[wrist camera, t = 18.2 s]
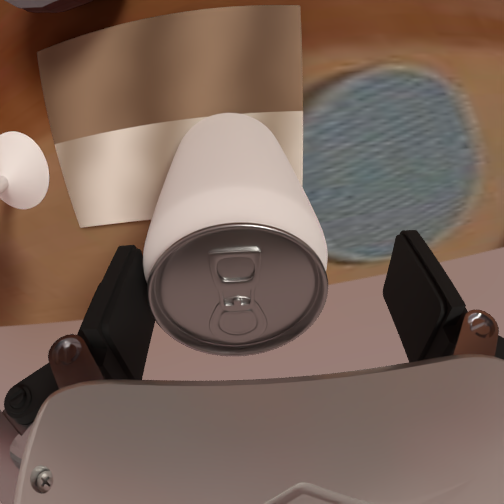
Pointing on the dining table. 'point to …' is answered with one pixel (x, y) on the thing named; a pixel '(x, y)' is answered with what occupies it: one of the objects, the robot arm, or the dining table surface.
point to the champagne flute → (22, 171)
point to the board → (165, 98)
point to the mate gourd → (47, 5)
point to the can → (234, 243)
